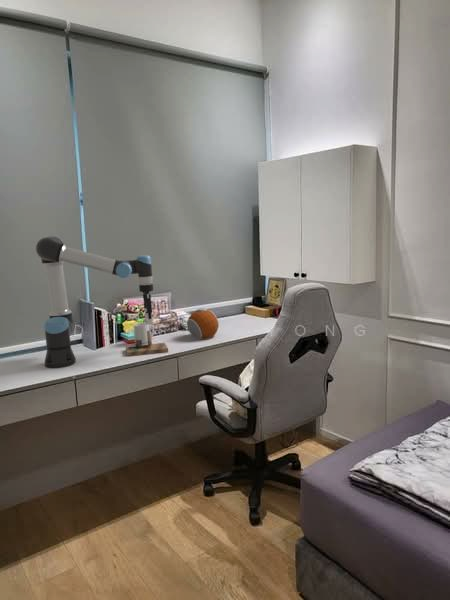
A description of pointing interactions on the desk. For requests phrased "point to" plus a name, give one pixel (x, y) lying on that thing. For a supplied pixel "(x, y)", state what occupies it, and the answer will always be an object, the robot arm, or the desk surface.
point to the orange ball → (202, 324)
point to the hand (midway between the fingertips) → (148, 322)
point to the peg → (139, 342)
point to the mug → (142, 332)
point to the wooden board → (147, 349)
